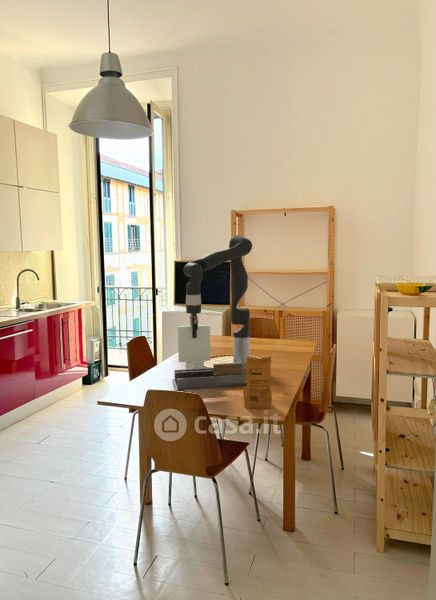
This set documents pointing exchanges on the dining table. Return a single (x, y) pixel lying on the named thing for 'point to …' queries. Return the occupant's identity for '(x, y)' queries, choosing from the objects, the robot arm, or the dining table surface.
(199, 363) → the supplement box
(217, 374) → the offcut bundle
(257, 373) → the coffee package
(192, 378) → the rack
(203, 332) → the tall sheet
